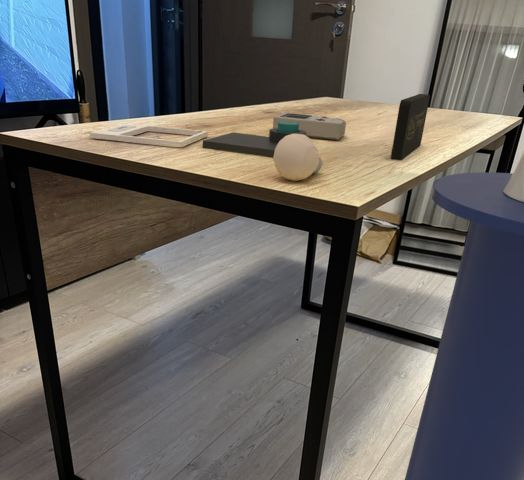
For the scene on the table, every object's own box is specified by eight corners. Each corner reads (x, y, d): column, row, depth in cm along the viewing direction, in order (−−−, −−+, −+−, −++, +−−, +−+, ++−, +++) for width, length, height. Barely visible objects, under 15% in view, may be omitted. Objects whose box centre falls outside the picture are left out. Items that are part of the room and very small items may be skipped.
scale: (309, 147, 105) (310, 130, 104) (283, 158, 93) (284, 140, 92) (235, 137, 110) (236, 121, 109) (202, 147, 98) (202, 130, 97)
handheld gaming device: (338, 141, 113) (340, 122, 111) (271, 134, 116) (273, 115, 115) (345, 136, 120) (347, 118, 119) (282, 129, 124) (284, 112, 122)
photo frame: (125, 122, 111) (207, 130, 108) (125, 128, 112) (207, 136, 109) (89, 131, 99) (181, 140, 96) (90, 137, 100) (181, 147, 96)
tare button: (301, 132, 103) (301, 123, 102) (294, 135, 100) (294, 125, 99) (281, 130, 104) (282, 120, 103) (274, 132, 101) (274, 122, 100)
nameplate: (411, 144, 115) (421, 93, 110) (420, 145, 114) (430, 94, 109) (390, 159, 98) (400, 100, 93) (400, 161, 98) (411, 101, 92)
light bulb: (306, 137, 85) (275, 122, 75) (342, 151, 82) (315, 138, 73) (290, 177, 87) (258, 168, 77) (325, 193, 85) (296, 185, 75)
